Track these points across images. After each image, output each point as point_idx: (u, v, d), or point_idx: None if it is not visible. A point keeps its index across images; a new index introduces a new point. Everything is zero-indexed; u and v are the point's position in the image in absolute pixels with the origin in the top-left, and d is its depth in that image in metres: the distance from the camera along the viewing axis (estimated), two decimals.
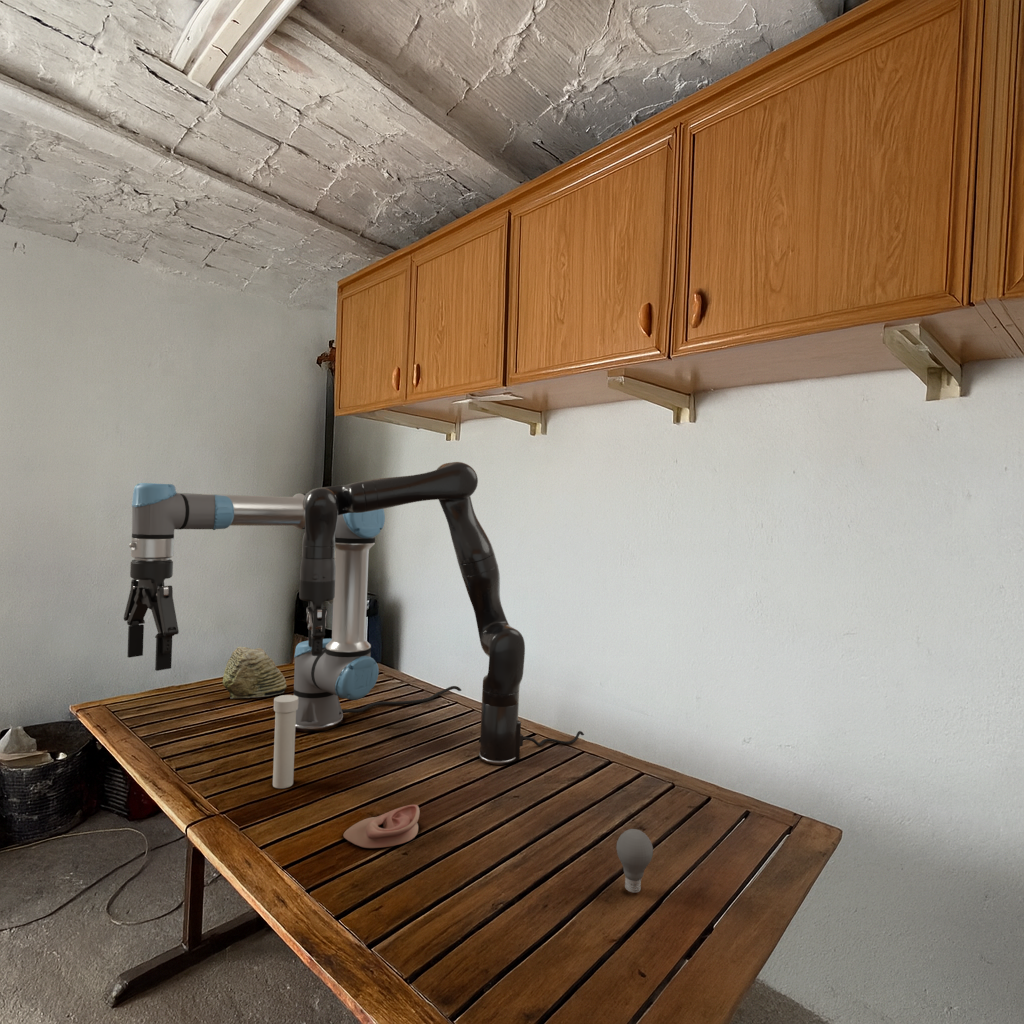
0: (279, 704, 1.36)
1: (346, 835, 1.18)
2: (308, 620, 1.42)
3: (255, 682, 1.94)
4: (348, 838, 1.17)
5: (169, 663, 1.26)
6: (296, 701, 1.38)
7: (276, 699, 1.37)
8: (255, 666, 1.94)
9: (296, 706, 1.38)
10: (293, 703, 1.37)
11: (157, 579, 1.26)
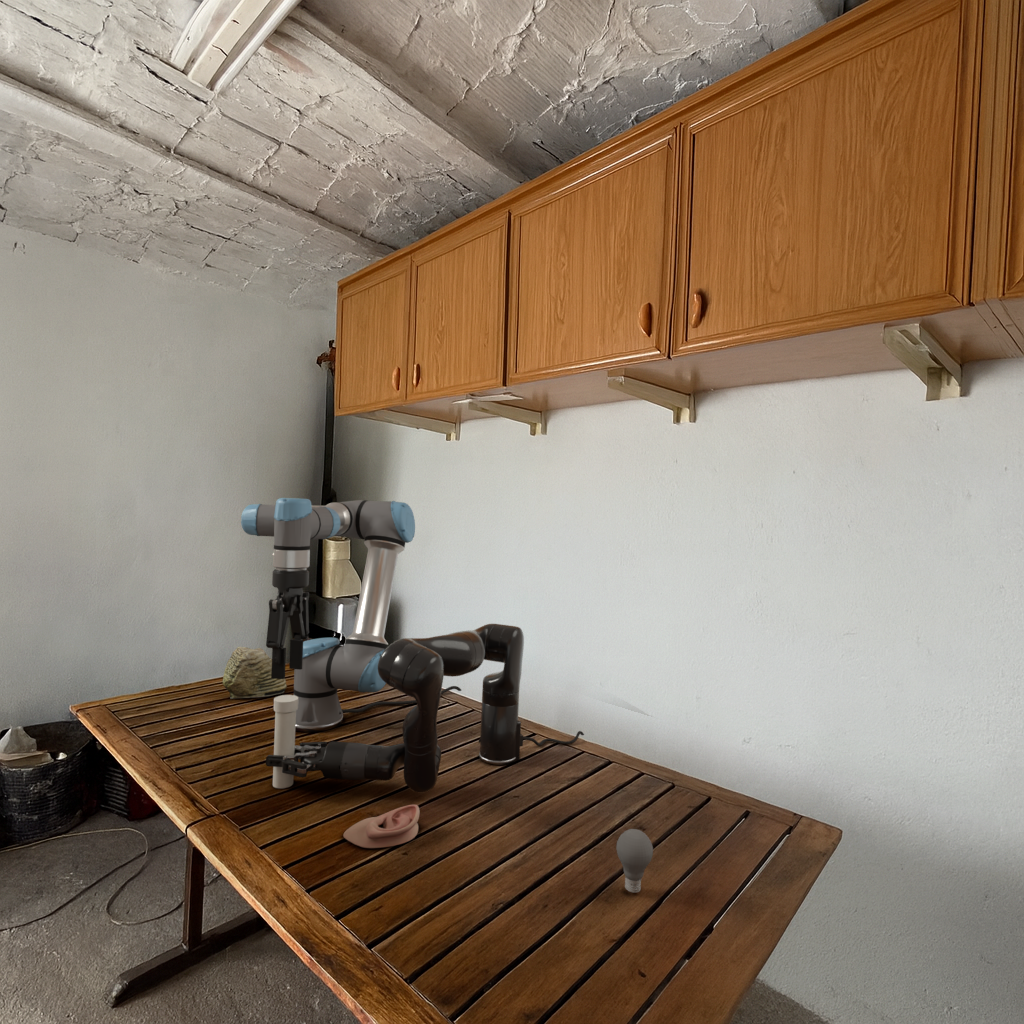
0: (279, 704, 1.36)
1: (346, 835, 1.18)
2: None
3: (255, 682, 1.94)
4: (348, 838, 1.17)
5: (281, 674, 1.34)
6: (296, 701, 1.38)
7: (276, 699, 1.37)
8: (255, 666, 1.94)
9: (296, 706, 1.38)
10: (293, 703, 1.37)
11: (280, 588, 1.34)
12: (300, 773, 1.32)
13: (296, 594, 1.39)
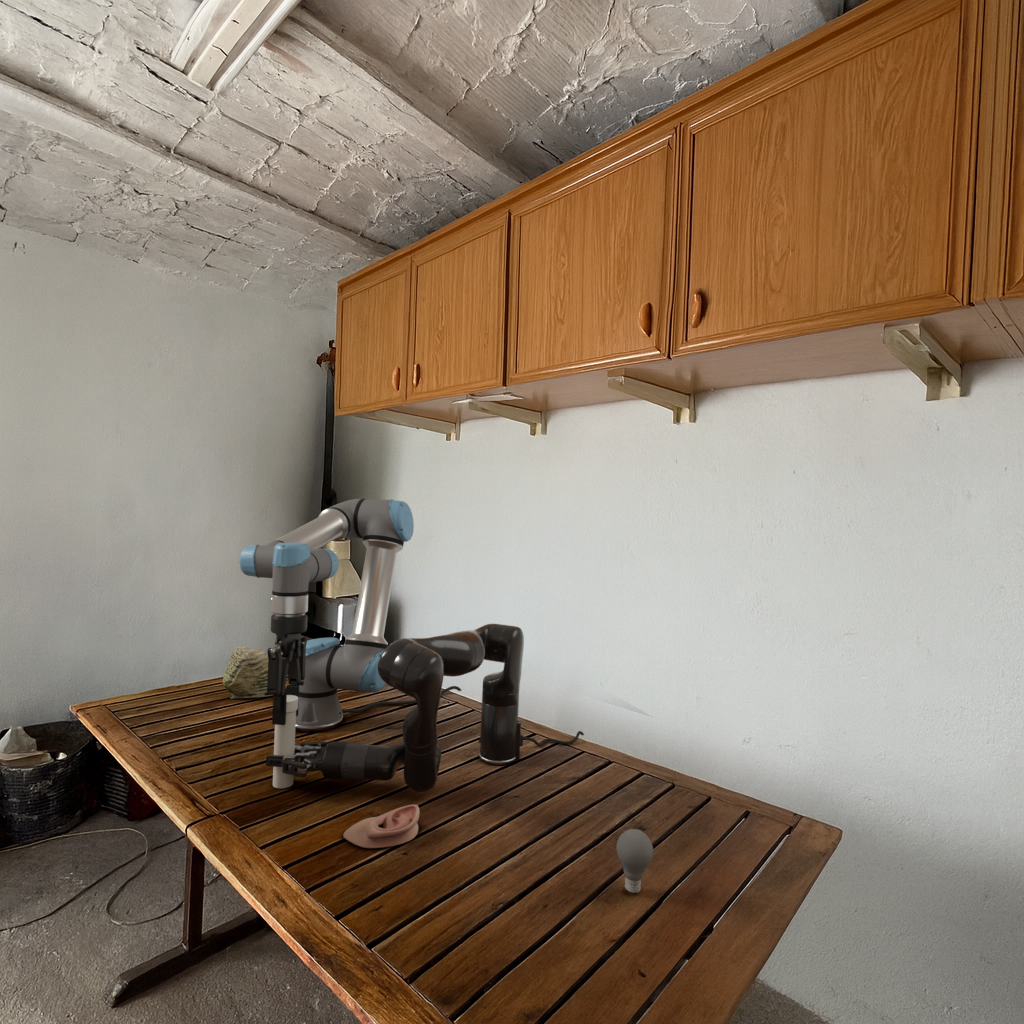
0: None
1: (346, 835, 1.18)
2: None
3: (255, 682, 1.94)
4: (348, 838, 1.17)
5: (282, 720, 1.35)
6: (296, 701, 1.38)
7: None
8: (255, 666, 1.94)
9: (296, 706, 1.38)
10: (293, 703, 1.37)
11: (278, 634, 1.35)
12: (300, 773, 1.32)
13: (294, 639, 1.39)
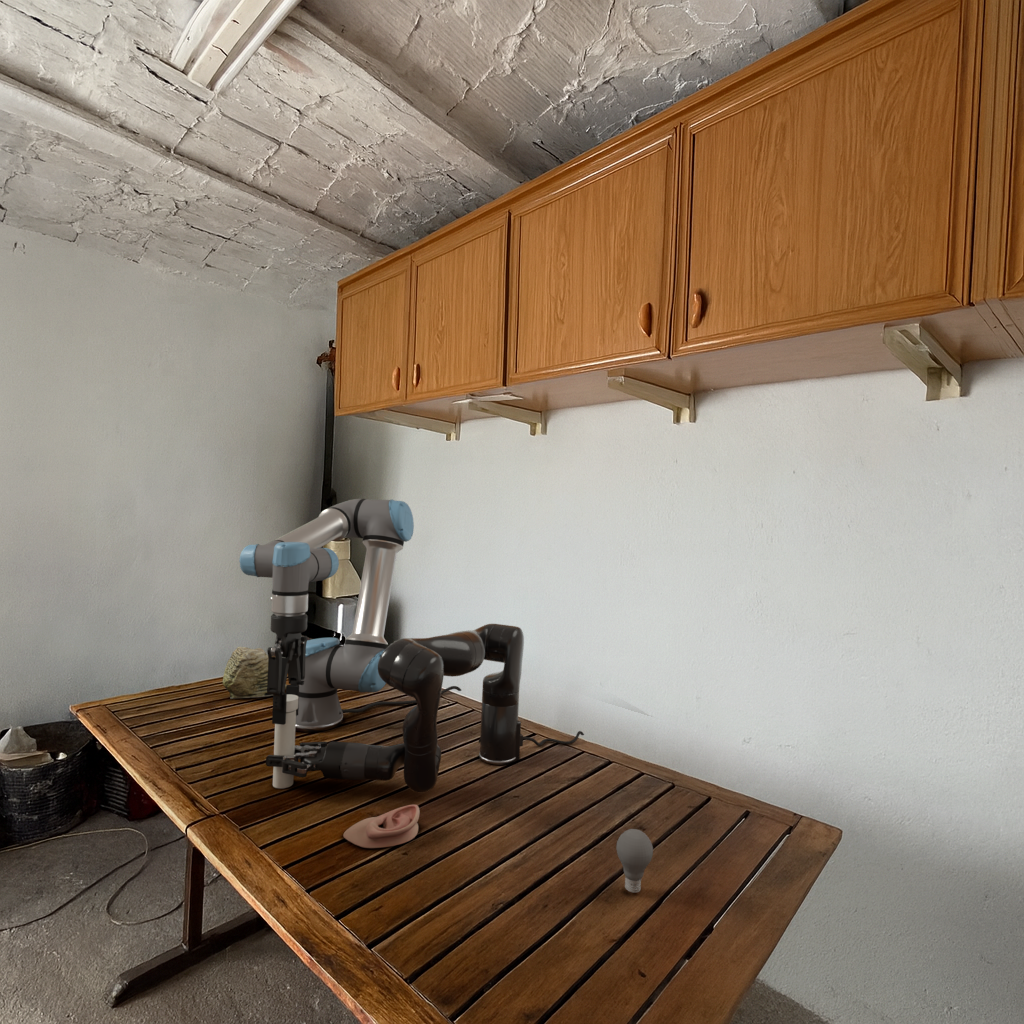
0: (295, 702, 1.38)
1: (346, 835, 1.18)
2: None
3: (255, 682, 1.94)
4: (348, 838, 1.17)
5: (282, 719, 1.35)
6: None
7: None
8: (255, 666, 1.94)
9: None
10: None
11: (278, 634, 1.34)
12: (300, 773, 1.32)
13: (294, 638, 1.39)
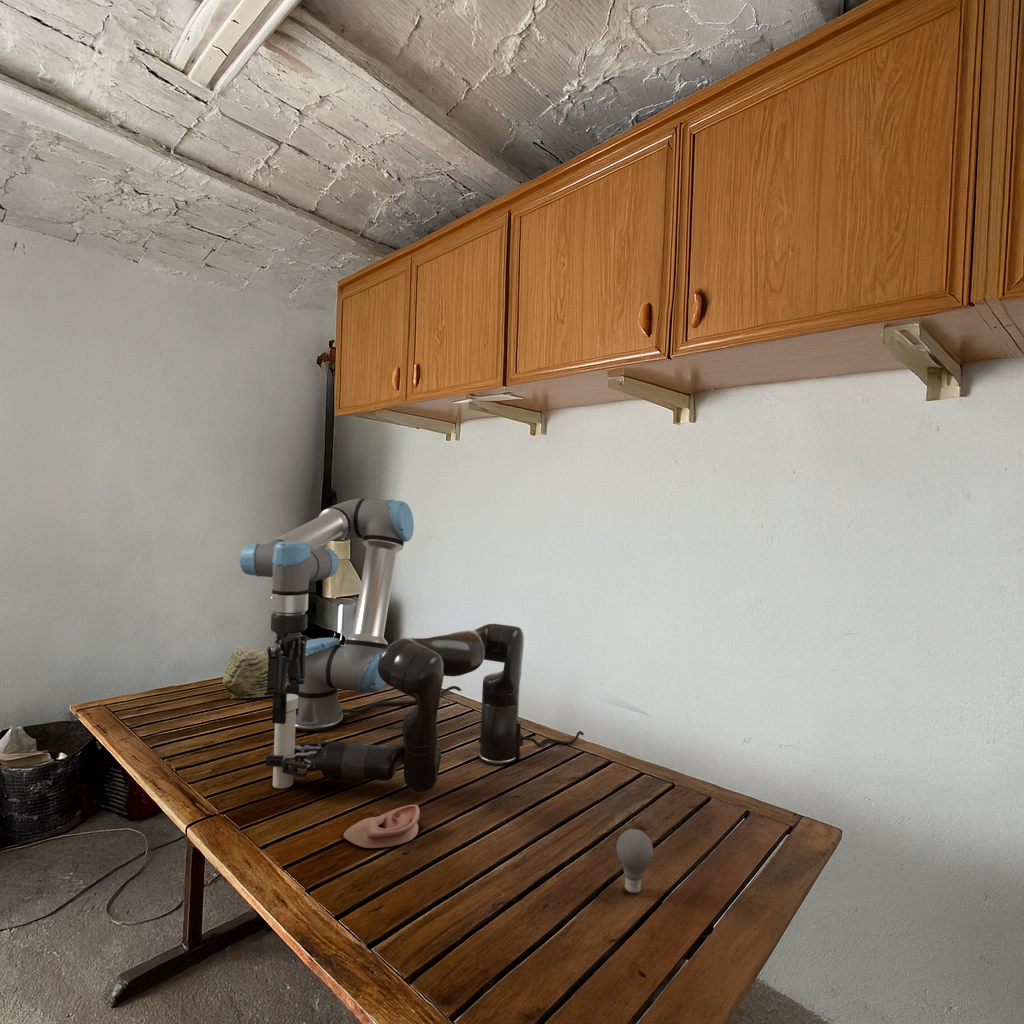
0: None
1: (346, 835, 1.18)
2: None
3: (255, 682, 1.94)
4: (348, 838, 1.17)
5: (282, 719, 1.35)
6: None
7: (296, 696, 1.39)
8: (255, 666, 1.94)
9: None
10: None
11: (278, 633, 1.34)
12: (300, 773, 1.32)
13: (294, 638, 1.39)
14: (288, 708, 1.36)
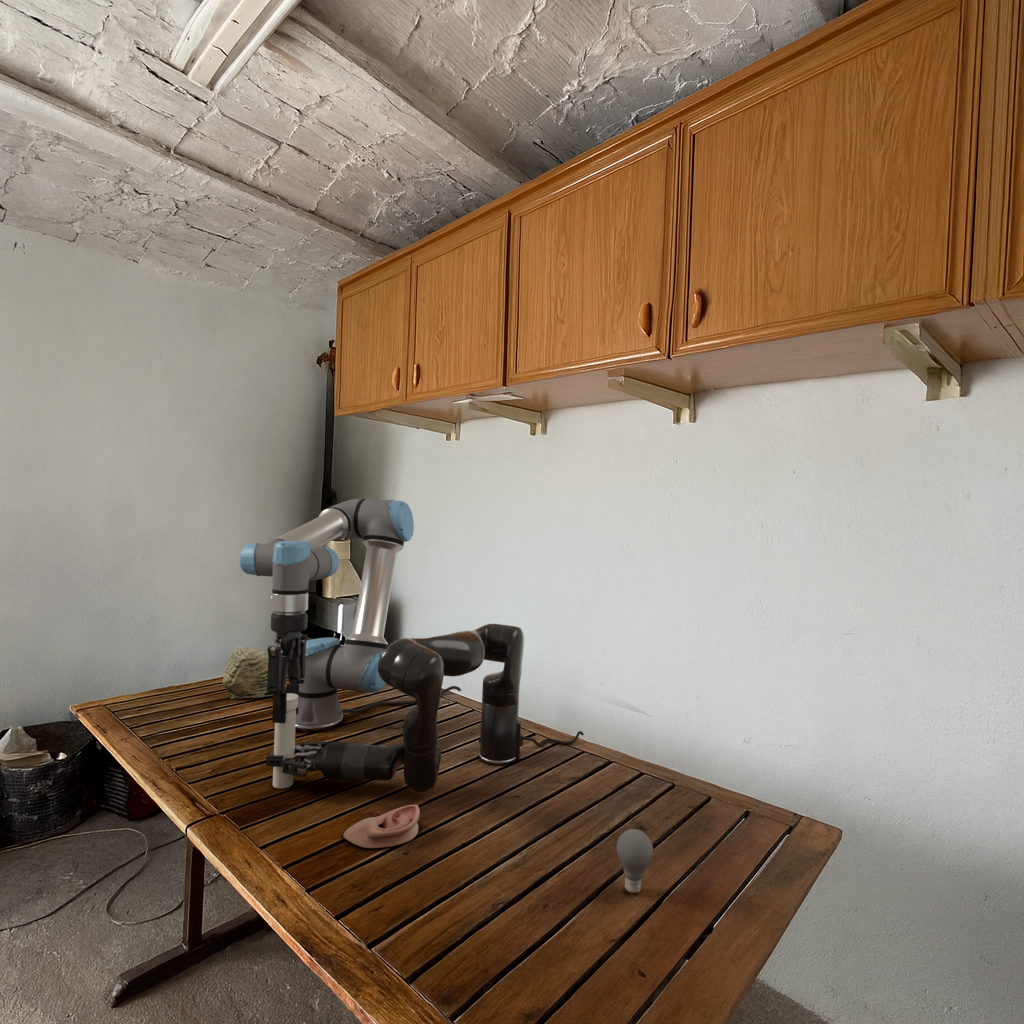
0: None
1: (346, 835, 1.18)
2: None
3: (255, 682, 1.94)
4: (348, 838, 1.17)
5: (282, 718, 1.35)
6: None
7: (287, 693, 1.40)
8: (255, 666, 1.94)
9: None
10: None
11: (278, 632, 1.34)
12: (300, 773, 1.32)
13: (294, 637, 1.39)
14: None
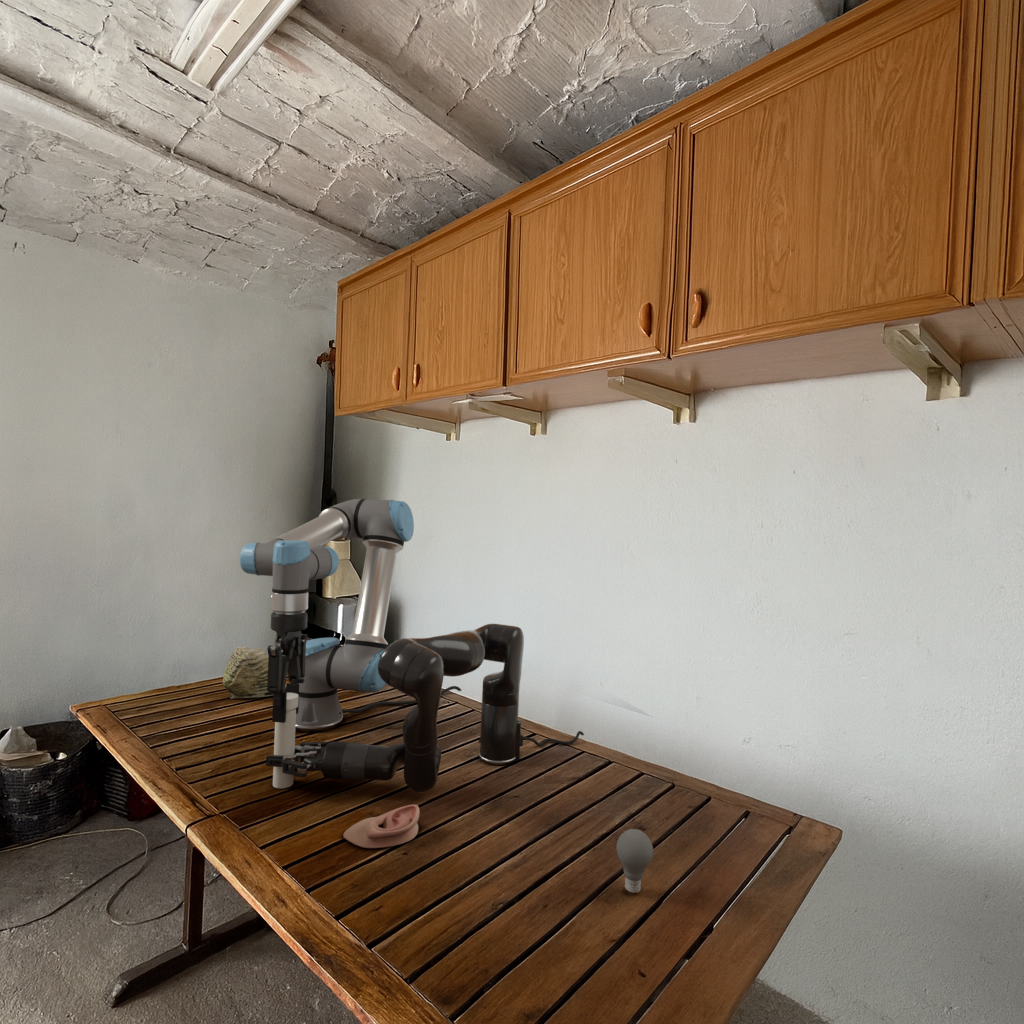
0: None
1: (346, 835, 1.18)
2: None
3: (255, 682, 1.94)
4: (348, 838, 1.17)
5: (282, 717, 1.35)
6: (293, 700, 1.37)
7: None
8: (255, 666, 1.94)
9: (293, 705, 1.37)
10: (288, 701, 1.36)
11: (278, 632, 1.34)
12: (300, 773, 1.32)
13: (294, 636, 1.39)
14: None
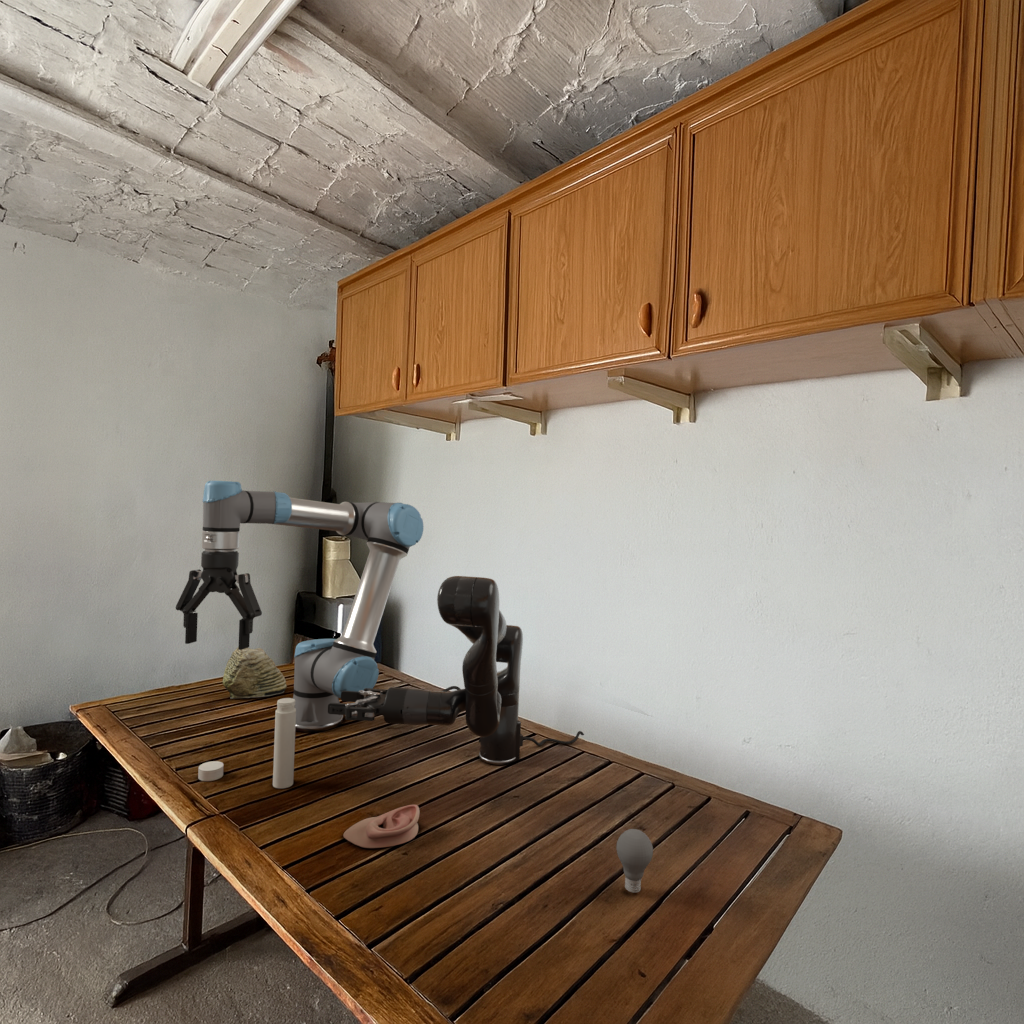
0: None
1: (346, 835, 1.18)
2: None
3: (255, 682, 1.94)
4: (348, 838, 1.17)
5: (248, 642, 1.40)
6: None
7: (219, 766, 1.41)
8: (255, 666, 1.94)
9: None
10: None
11: (233, 568, 1.39)
12: (369, 717, 1.31)
13: None
14: (207, 778, 1.39)
